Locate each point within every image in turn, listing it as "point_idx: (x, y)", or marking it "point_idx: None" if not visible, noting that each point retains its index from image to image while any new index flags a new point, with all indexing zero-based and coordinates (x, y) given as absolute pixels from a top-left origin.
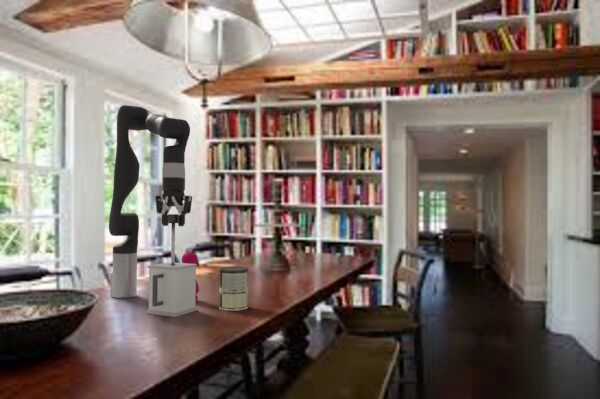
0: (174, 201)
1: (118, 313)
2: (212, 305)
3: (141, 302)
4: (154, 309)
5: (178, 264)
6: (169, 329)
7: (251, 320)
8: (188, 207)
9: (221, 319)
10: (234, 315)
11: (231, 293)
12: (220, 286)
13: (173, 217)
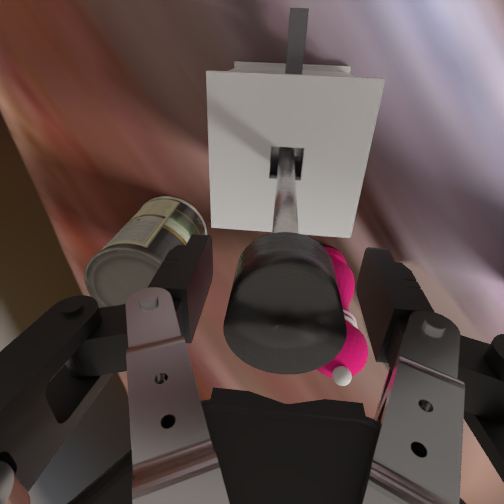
0: (182, 450)
1: (445, 24)
2: (237, 238)
3: (449, 207)
4: (321, 70)
5: (270, 184)
6: None
7: (35, 113)
8: (59, 403)
9: (104, 90)
10: (111, 151)
11: (137, 217)
12: (172, 231)
13: (250, 271)
